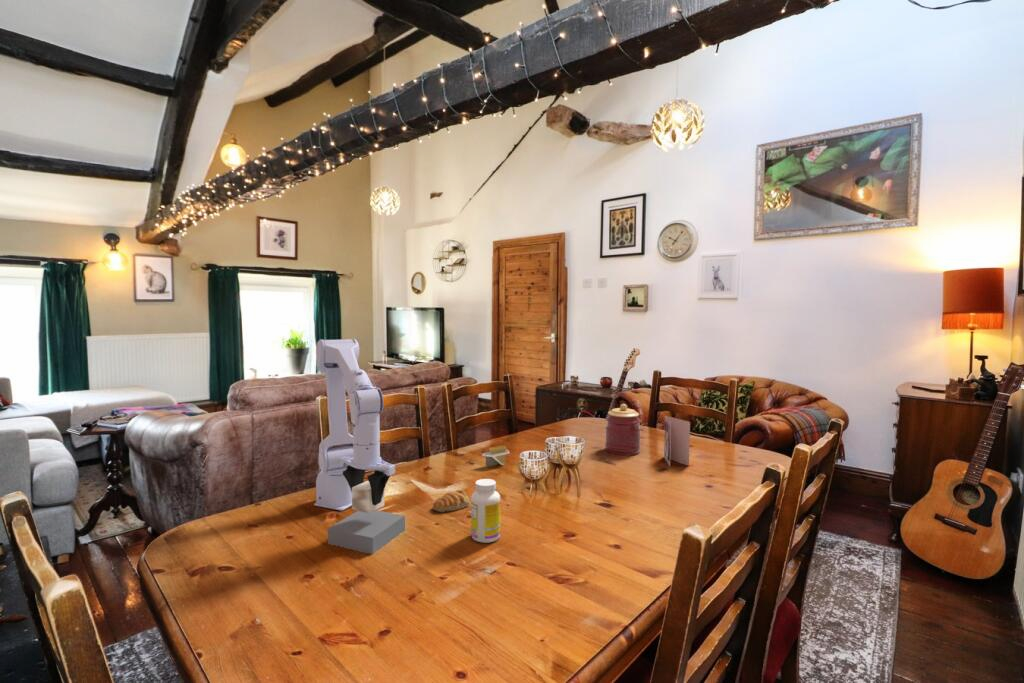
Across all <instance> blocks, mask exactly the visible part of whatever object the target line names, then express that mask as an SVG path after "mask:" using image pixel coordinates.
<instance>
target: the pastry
mask: <svg viewBox="0 0 1024 683" xmlns="http://www.w3.org/2000/svg"><path fill="white" fill-rule="evenodd" d="M469 505H470V500H469V497H468V496H467V493H466V491H464V490H462V489H460V490H459V489H456V491H451V492H447V493H445V494H444V495H442V496H441V497H439V498H438V499H436V501H434V503H433V507H432V509H433V510H434V511H436V512H439V513H446V512H445V511H447V512H455V511H458V510H460V509H461V508H462V509H464V507H465V508H467V507H468V506H469ZM457 509H458V510H457ZM454 510H455V511H454Z"/></svg>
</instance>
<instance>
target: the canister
mask: <svg viewBox="0 0 1024 683" xmlns="http://www.w3.org/2000/svg"><path fill="white" fill-rule="evenodd" d="M607 414H608V416H607V417H606V418H605V421H606V426H605V427H604V428H605V443H604V447H605V451H606V452H608V453H611V454H614V455H619V456H635V455H638V454H639V453H640V451H641V448H642V447H641V431H642V429H641V426H640V424H641V422H642V420H641V418H639V416H640V413H639V412H638V411H636V410H635V409H632V408H628V405H627V404H625V403H621V404H620V406H619V407H615V408H612V409H611V410H609V411H608V412H607Z"/></svg>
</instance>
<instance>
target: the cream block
mask: <svg viewBox="0 0 1024 683" xmlns="http://www.w3.org/2000/svg"><path fill="white" fill-rule="evenodd" d="M384 506H385V491H384V492H383V495H382V500H381V502H380V503H379V504H377V505H373V503H372V494H371V487H370V483H369V480H366V481H363V483H361V484H359V485H357V486H354V487H352V506H351V509H352V510H353V511H356V512H357V511H361V512H365V513H371V512H373V511H375V510H377V511H378V509H380V508H382V507H384Z"/></svg>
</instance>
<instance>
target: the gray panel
mask: <svg viewBox="0 0 1024 683" xmlns="http://www.w3.org/2000/svg"><path fill="white" fill-rule="evenodd" d="M405 531H406V515H403V514H399V513H393V512H387V511H383V510H378V509H377V510H375V511H373V512H371V513H365V512H361V511H357V510H356V511H355V512H354V513H352V514H351V515H348V516H347V517H345V518H343V519H342V520H340V521H338V522H336V523H334V524H333V525H331V526H329V527H328V528H327V545H329V544H331V545H330V546H334V545H336V546H335V547H338V546H340V547H339V548H343V547H344V549H348V550H351V549H352V551H356V550H357V552H360V551H362V552H361V553H365V552H366V553H365V554H369V553H371V554H370V555H374V554H375V552H376V551H377V552H378V551H380V550H382V548H384V547H386V545H388V544H389V543H390V542H392V541H393V540H394V539H396V538H397V537H399V536H400V535H401V534H403V533H404V532H405ZM402 532H403V533H402ZM400 533H401V534H400ZM399 534H400V535H399ZM395 537H396V538H395ZM392 539H393V540H392ZM391 540H392V541H391ZM388 542H389V543H388ZM387 543H388V544H387ZM383 546H384V547H383ZM379 549H380V550H379ZM377 552H376V553H377Z"/></svg>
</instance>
